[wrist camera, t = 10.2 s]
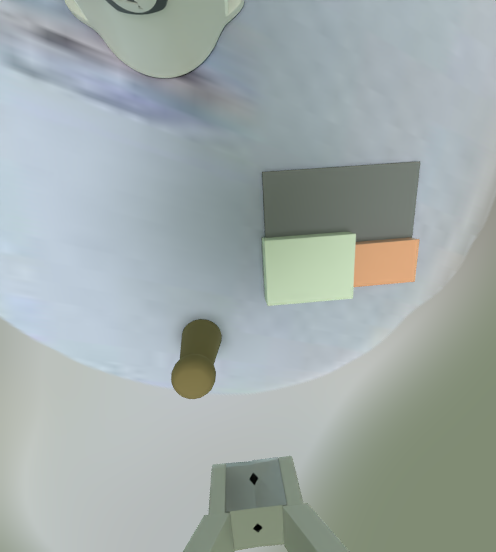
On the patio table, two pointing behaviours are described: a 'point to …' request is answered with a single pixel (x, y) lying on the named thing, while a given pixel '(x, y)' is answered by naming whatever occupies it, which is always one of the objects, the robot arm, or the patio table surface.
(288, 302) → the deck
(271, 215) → the mat
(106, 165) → the patio table surface
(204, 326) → the cork
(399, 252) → the block
